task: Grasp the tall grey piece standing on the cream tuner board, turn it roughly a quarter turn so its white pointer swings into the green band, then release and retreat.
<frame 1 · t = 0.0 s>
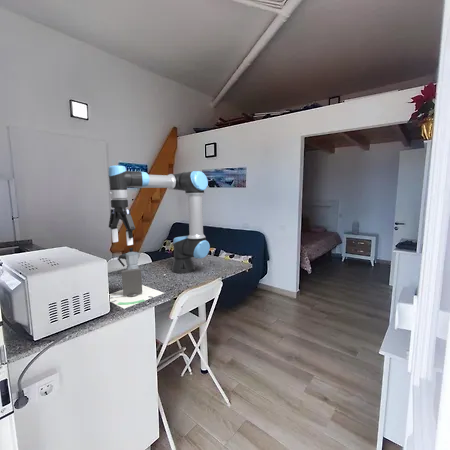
hand: (122, 243, 122), 28 cm above the kitchen counter, fingers open, 13 cm apart
tuner board: (133, 297, 127), on the kitchen counter
grey piece: (126, 283, 126), point 8 cm above the kitchen counter, hinge at 0.0°, touching tuner board
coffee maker: (131, 276, 161), on the kitchen counter
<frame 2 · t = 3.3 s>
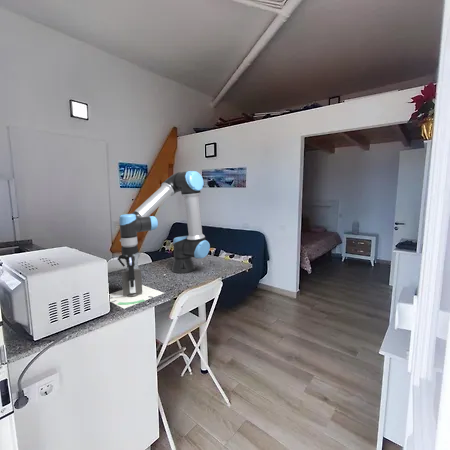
hand: (132, 291, 127), 3 cm above the kitchen counter, fingers closed on grey piece, 3 cm apart
grey piece: (126, 283, 126), point 8 cm above the kitchen counter, hinge at 0.0°, touching gripper, tuner board
everything else where it was.
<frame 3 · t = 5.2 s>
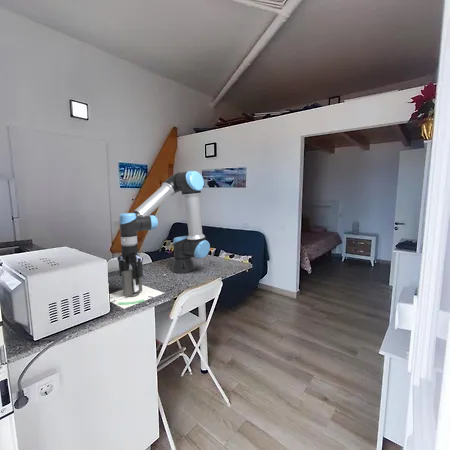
hand: (132, 290, 127), 4 cm above the kitchen counter, fingers closed on grey piece, 4 cm apart
grey piece: (127, 283, 125), point 8 cm above the kitchen counter, hinge at 29.0°, touching gripper, tuner board
everything else where it was.
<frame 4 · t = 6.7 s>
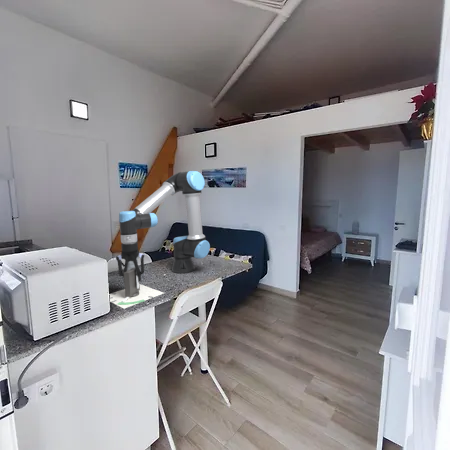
hand: (133, 288, 127), 5 cm above the kitchen counter, fingers closed on grey piece, 4 cm apart
grey piece: (129, 284, 124), point 8 cm above the kitchen counter, hinge at 59.0°, touching gripper
everything else where it was.
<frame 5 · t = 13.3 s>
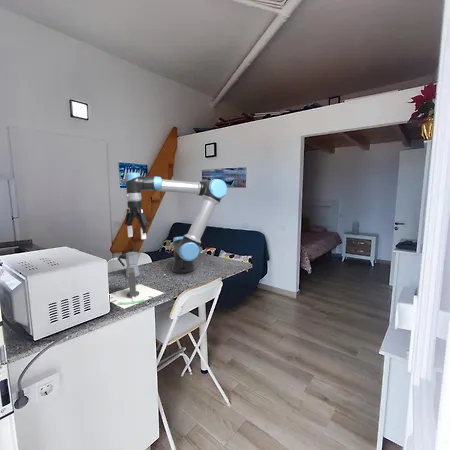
hand: (136, 237, 145), 27 cm above the kitchen counter, fingers open, 13 cm apart
grey piece: (132, 283, 124), point 8 cm above the kitchen counter, hinge at 91.0°
everything else where it was.
at the end: grey piece at +91° (first picture: +0°); the gripper is holding nothing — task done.
